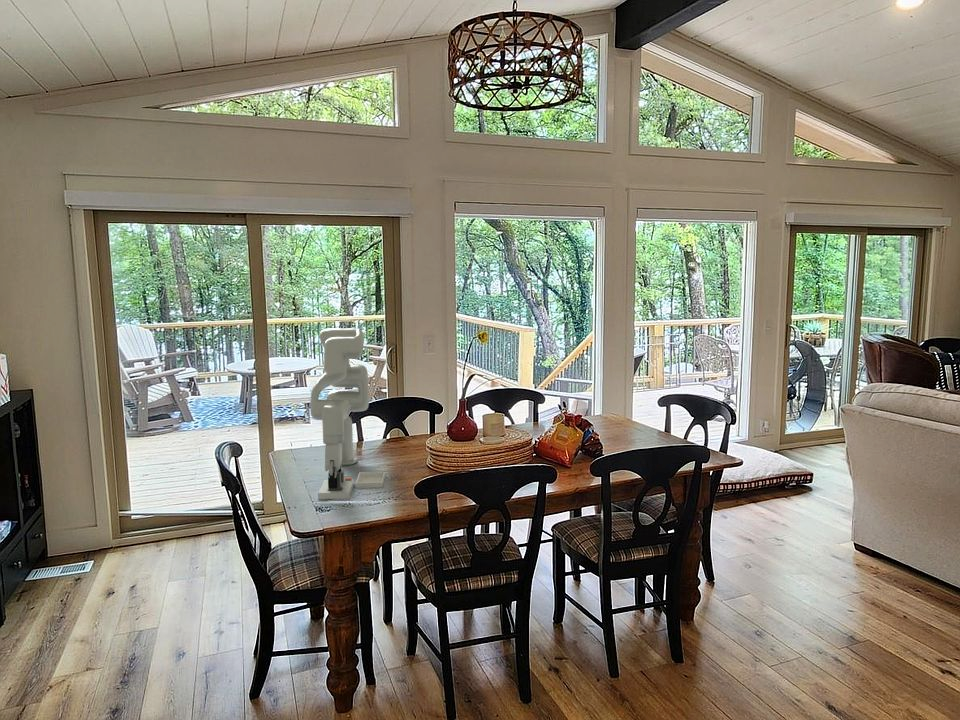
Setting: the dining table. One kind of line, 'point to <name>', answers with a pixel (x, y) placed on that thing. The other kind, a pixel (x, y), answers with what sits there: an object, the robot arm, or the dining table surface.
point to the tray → (370, 479)
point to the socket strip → (343, 494)
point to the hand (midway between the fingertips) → (335, 483)
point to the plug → (337, 482)
